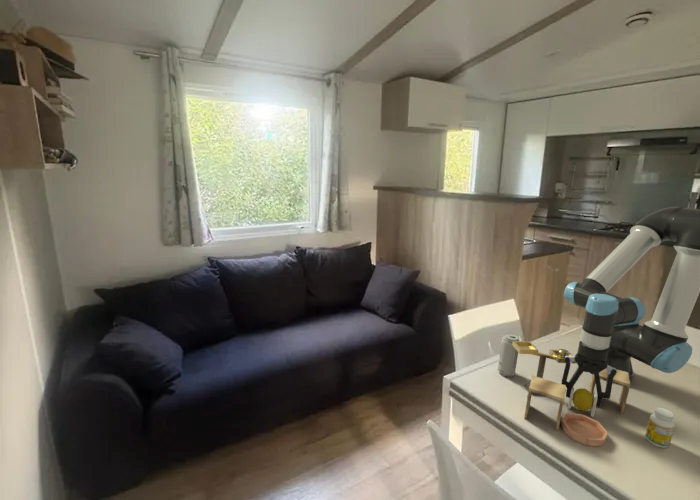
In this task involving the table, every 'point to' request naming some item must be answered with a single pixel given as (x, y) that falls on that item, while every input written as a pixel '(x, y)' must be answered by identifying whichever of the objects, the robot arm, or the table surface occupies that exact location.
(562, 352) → the balance
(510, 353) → the energy drink can
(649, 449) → the table surface
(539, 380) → the oak cover
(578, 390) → the lemon
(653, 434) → the supplement bottle
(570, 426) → the saucer
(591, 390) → the oak cover
